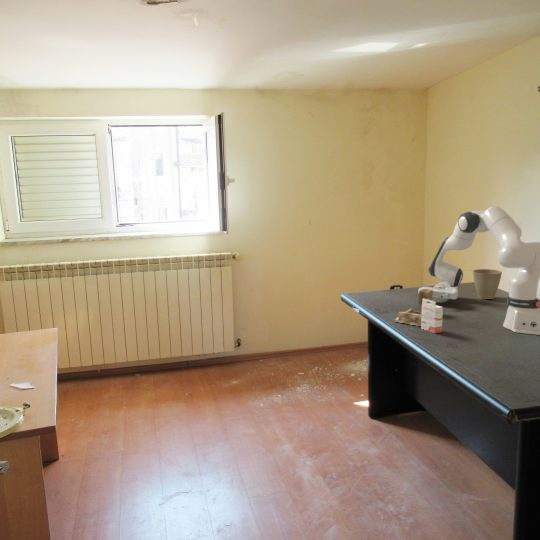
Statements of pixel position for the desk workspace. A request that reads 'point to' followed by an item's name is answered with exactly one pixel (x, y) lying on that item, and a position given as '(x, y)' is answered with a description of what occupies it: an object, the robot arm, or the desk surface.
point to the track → (409, 317)
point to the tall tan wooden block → (426, 295)
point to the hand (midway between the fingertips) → (433, 295)
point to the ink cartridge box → (431, 316)
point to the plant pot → (486, 282)
